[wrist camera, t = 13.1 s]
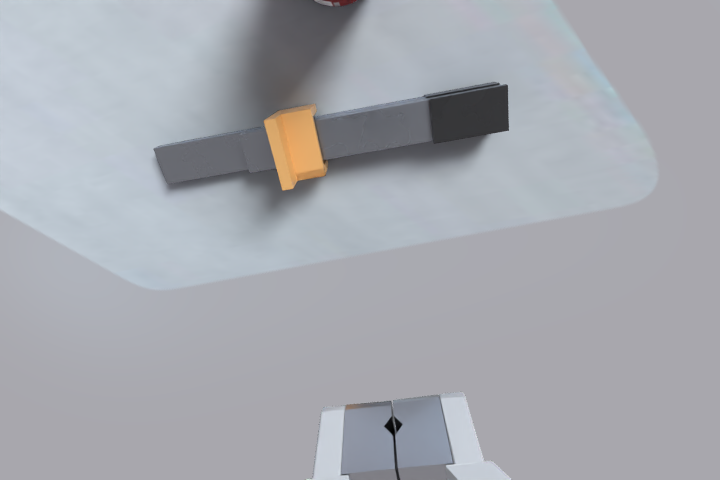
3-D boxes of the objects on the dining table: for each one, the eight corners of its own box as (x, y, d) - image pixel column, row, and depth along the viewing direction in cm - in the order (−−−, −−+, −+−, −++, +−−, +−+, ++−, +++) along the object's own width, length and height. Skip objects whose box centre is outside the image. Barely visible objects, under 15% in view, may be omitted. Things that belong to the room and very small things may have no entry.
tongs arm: (254, 170, 33) (248, 176, 31) (242, 130, 32) (236, 134, 30) (501, 126, 31) (508, 130, 30) (500, 83, 30) (507, 84, 28)
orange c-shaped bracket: (293, 171, 34) (282, 190, 29) (278, 110, 32) (263, 120, 27) (328, 165, 34) (322, 183, 29) (315, 103, 32) (306, 112, 27)
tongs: (173, 181, 35) (167, 185, 34) (159, 144, 33) (152, 147, 32) (496, 123, 33) (500, 126, 31) (494, 81, 31) (499, 83, 30)
